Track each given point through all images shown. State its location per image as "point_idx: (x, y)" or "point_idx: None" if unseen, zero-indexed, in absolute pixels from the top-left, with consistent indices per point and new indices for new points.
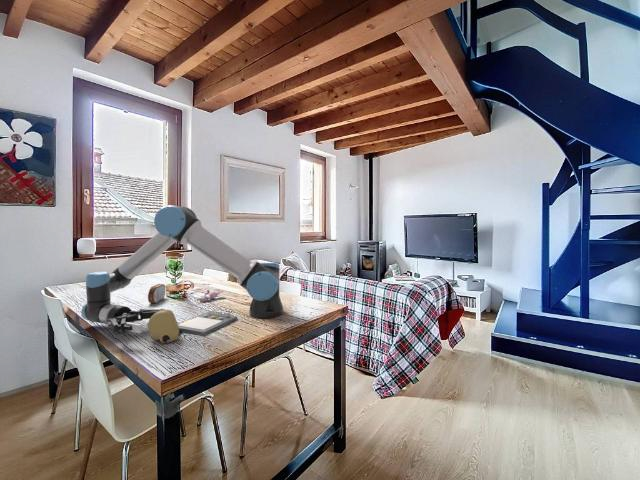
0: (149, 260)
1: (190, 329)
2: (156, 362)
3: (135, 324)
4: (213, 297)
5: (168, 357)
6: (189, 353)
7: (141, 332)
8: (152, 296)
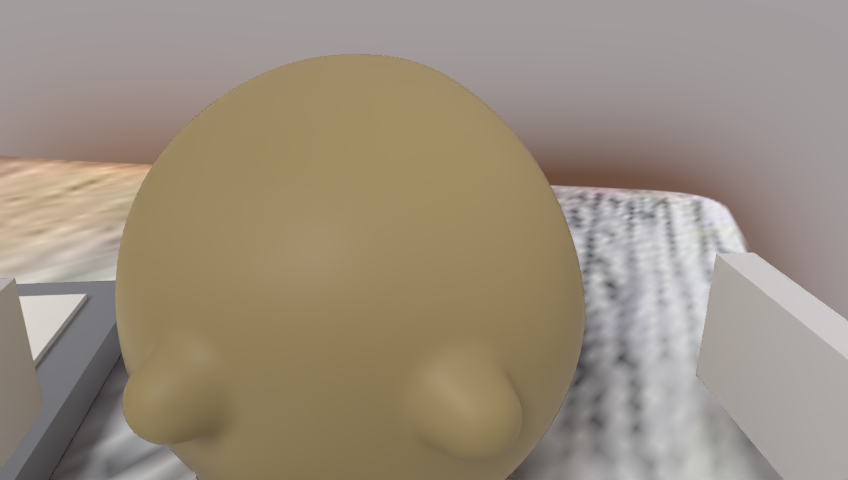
0: None
1: (68, 376)
2: (685, 266)
3: (806, 294)
4: None
5: (595, 264)
6: None
7: (696, 374)
8: None
